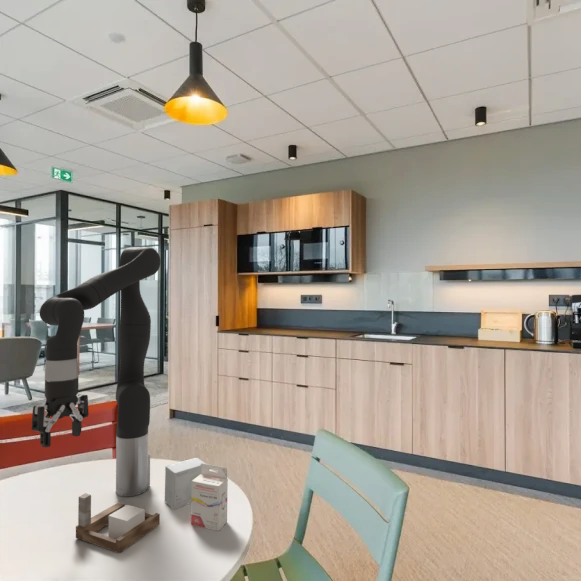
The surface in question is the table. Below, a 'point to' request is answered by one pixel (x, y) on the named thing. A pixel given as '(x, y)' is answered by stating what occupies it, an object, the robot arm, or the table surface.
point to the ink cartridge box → (209, 498)
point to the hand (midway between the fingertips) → (61, 441)
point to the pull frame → (92, 525)
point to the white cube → (124, 520)
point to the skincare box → (181, 481)
